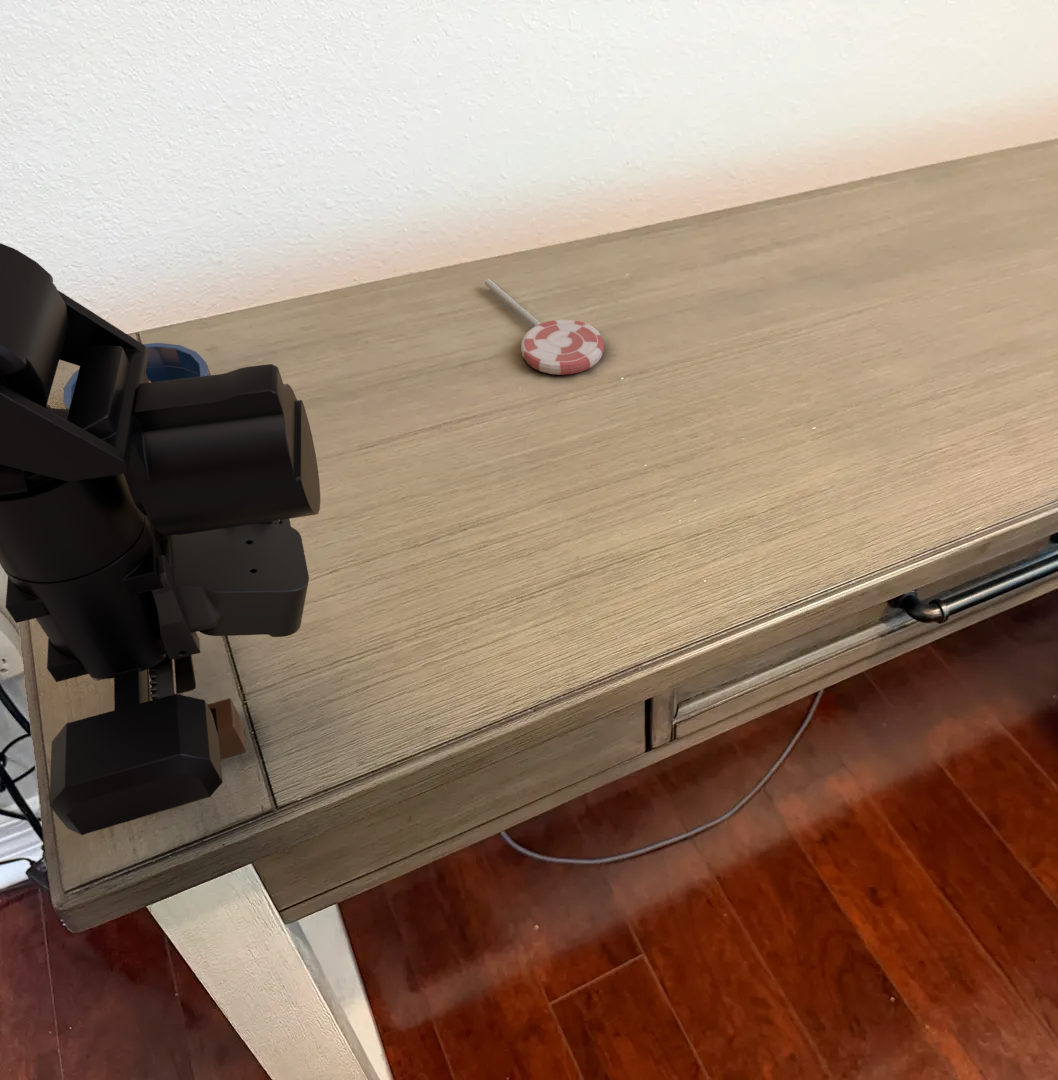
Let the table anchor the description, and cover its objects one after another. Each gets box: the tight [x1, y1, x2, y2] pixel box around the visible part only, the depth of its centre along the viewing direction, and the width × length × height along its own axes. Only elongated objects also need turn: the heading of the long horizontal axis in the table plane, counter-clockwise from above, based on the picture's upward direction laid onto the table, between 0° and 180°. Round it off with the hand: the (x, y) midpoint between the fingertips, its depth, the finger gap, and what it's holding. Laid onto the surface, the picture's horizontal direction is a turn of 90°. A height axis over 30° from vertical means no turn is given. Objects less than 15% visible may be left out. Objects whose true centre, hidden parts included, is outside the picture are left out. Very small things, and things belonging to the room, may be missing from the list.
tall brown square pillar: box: [207, 697, 247, 760], centre depth 55 cm, size 2×5×2 cm, turn 113°
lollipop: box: [484, 278, 605, 376], centre depth 85 cm, size 7×1×15 cm
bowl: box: [62, 342, 212, 409], centre depth 74 cm, size 9×9×4 cm
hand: (189, 740), depth 56 cm, fingers open, 7 cm apart
